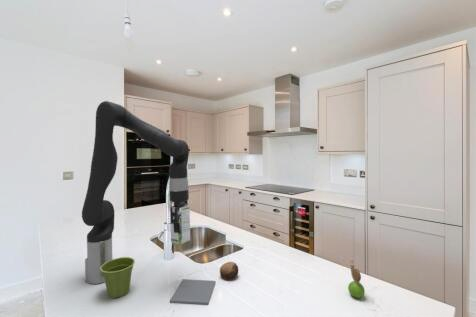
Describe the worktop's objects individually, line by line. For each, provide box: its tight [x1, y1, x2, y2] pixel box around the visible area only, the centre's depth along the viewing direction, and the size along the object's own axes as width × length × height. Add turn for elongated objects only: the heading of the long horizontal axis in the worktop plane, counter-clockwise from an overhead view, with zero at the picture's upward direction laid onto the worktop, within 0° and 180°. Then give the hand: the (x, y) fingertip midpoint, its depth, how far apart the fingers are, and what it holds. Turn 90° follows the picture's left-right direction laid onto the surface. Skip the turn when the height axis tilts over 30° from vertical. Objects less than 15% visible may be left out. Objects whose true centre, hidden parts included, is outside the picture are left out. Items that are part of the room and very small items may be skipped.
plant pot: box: [100, 256, 136, 299], centre depth 88 cm, size 12×12×11 cm
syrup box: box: [169, 204, 191, 245], centre depth 93 cm, size 6×6×14 cm
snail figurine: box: [347, 260, 365, 299], centre depth 86 cm, size 5×6×12 cm
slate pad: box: [169, 278, 217, 306], centre depth 89 cm, size 14×14×1 cm
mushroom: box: [219, 261, 239, 281], centre depth 100 cm, size 8×8×6 cm
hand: (180, 228), depth 93 cm, fingers closed on syrup box, 7 cm apart
